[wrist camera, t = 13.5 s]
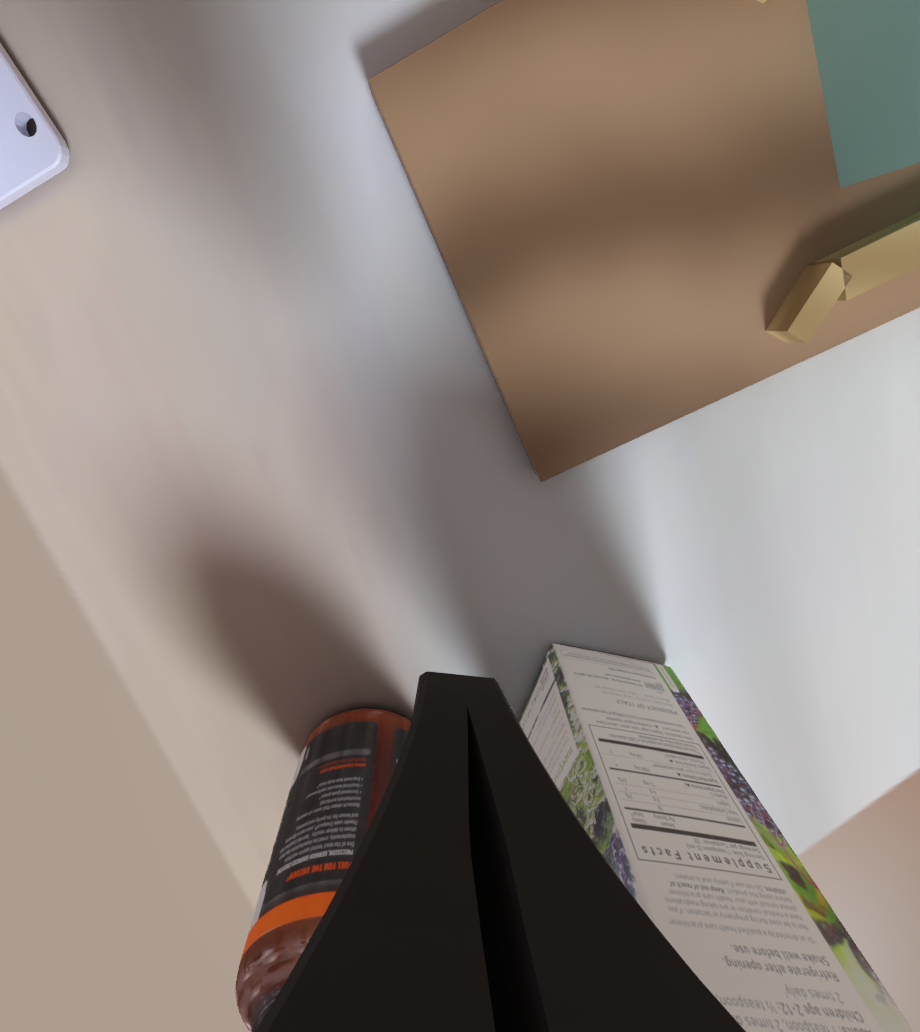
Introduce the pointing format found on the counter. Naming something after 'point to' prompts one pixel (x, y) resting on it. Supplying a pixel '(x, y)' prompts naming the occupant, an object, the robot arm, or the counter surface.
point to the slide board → (643, 207)
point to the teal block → (869, 83)
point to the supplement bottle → (316, 844)
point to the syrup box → (698, 846)
